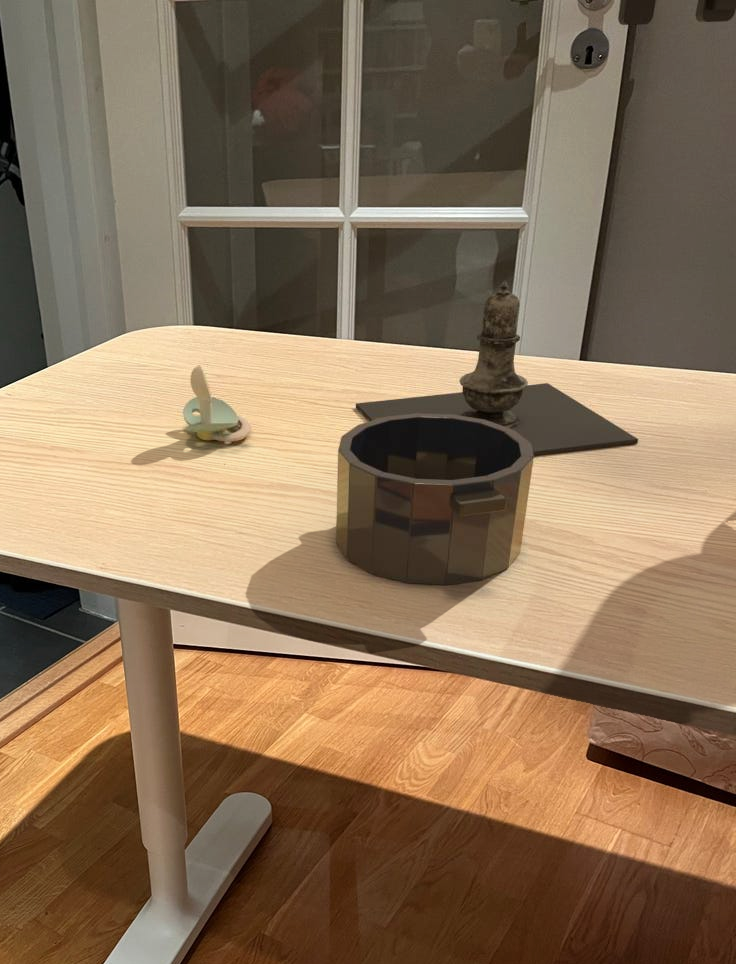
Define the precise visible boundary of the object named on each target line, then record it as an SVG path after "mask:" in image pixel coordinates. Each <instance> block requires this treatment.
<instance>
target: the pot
mask: <svg viewBox="0 0 736 964" xmlns="http://www.w3.org/2000/svg"><path fill="white" fill-rule="evenodd" d="M534 458H535V456H534V455H533V451H532V446H531V443H530V442H529V441H528V440H526V439H525V438H524V437H522V436H521V435H520V434H518V433H517V432H516V431H514V430H513V429H510V428H507V427H504V426H502V425H499V424H496V423H493V422H490V421H487V420H483V419H477V418H471V417H465V416H459V415H451V414H417V413H416V414H407V415H398V416H388V417H383V418H374V420H373V421H369V420H368V421H366V422H363V423H360V424H357V425H355V426H353V428H351V429H349V430H348V431H347V432H346V433H344V434H342V435H341V437H340V441H339V445H338V449H337V480H336V481H337V482H336V484H337V485H336V521H335V522H336V523H335V525H336V527H335V543H336V546H337V547H338V549H339V550H340V552H341V553H342V554H343V556H344V558H345V559H346V560H347V561H348V562H350V563H352V564H354V565H355V566H357V567H359V568H361V569H363V570H364V571H366V572H368V573H370V574H372V575H375V576H379V577H381V578H386V579H389V580H393V581H398V582H402V583H405V584H406V583H407V584H418V585H419V584H420V585H436V586H437V585H438V586H439V585H440V586H449V585H456V584H463V583H468V582H469V583H470V582H476V581H477V582H478V581H482V580H485V579H487V578H490V577H492V576H494V575H497V574H498V573H501V572H503V571H505V570H508V568H509V567H510V566H511V565H512V564H513V563H514V561H515V560H516V559H517V557H518V556H519V555H520V554H521V550H522V542H523V536H524V528H525V523H526V515H527V508H528V502H529V501H528V499H529V494H530V487H531V480H532V474H533V473H532V472H533V465H534Z"/></svg>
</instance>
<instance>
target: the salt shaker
mask: <svg viewBox="0 0 736 964" xmlns="http://www.w3.org/2000/svg"><path fill="white" fill-rule="evenodd" d="M499 287H500V290H498V291H497V292H494V293H492V294H490V295H488V297H487V298H486V299H485V301H484V306H483V307H484V308H483V318H482V326H481V327H482V328H481V332H480V333H479V334H477V335H476V340H478V341H479V347H478V358H477V361H476V366H475V369H474V370H473V371H472V372H469V373H466V374H464V375H462V376H460V378H459V384H460V385H461V387H462V390H461V392H463V395H464V398H465V401H466V402H467V403H468V404H469V406H470V407H471V408H472V409H470V410H468V411H466V412H464V413H463V414H461V415H460V416H465V417H471V418H477V419H483V420H487V421H490V422H493V423H496V424H499V425H502V426H504V427H507V428H513V427H515V426H517V425H518V424H519V418H518V417H517V416H516V415H515V414H513V413H512V412H511V411H509V410H510V409H511V408H512V407H514V406H515V405H516V404H517V403H518V402H519V400H520V398H521V396H522V394H523V389H524V388H526V387H527V385H529V382H528V380H527V378H525V377H524V376H522V375H520V374H517V373H516V370H515V353H516V346H517V345H516V344H517V343H518V342H519V341H520V340H521V336H520V335H519V334H518V333H517V329H518V321H519V314H520V307H521V306H520V305H521V304H520V300H519V298H518V296H516V295H515V294H514V293H512V292H510V291H509V290H508V287H509V285H508V283H507V281H506V280H503V282H502V283H501V284H500V285H499Z"/></svg>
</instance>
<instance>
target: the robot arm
mask: <svg viewBox="0 0 736 964" xmlns="http://www.w3.org/2000/svg"><path fill="white" fill-rule="evenodd" d="M619 2H620V3H619V9H618V17H617V21H618V23H619V24H620V25H621V26H632V25H633V26H637V25H638V26H640V25H648V24H650V23H651V21H652V20H653V18H654V13H655V8H656V2H657V0H620V1H619ZM735 14H736V0H697V4H696V9H695V19H696V20H697V22H699V23H717V22H718V23H719V22H729V21H731V20H732V19H733V17H734V16H735Z"/></svg>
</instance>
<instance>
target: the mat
mask: <svg viewBox="0 0 736 964" xmlns="http://www.w3.org/2000/svg"><path fill="white" fill-rule="evenodd" d="M355 408H356V410H358V411H359V412H360V413H361V415H363V417H365V418H366V419H367V421H368V422H369V421H373V420H374V418H383V417H388V416H398V415H407V414H416V413H417V414H451V415H459V416H460V415H461V414H463V413H464V412H466V411H468V410H470V409H472V408H471V407H470V406H469V404H468V403H467V402H466V401H465V398H464V395H463V391H461V392H450V393H442V394H432V395H431V394H430V395H423V396H422V395H421V396H413V397H405V398H403V397H402V398H394V399H385V400H377V401H376V400H375V401H366V402H357V403H355ZM509 411H511V412H512V413H513V414H515V415H516V416H517V417H518V418H519V424H518V425H517V426H515V427H513V428H510V429H513V430H514V431H516V432H517V433H518V434H520V435H521V436H522V437H524V438H525V439H526V440H528V441H529V442H530V443H531V446H532V451H533V455H534V457H536V456H542V455H551V454H559V453H567V452H569V453H570V452H575V451H577V452H578V451H584V450H594V449H601V448H608V447H617V446H618V447H619V446H625V445H626V446H627V445H634V444H638V443H639V438H638V437H636V436H635V435H633V434H631V433H629V432H628V431H626V430H624V429H623V428H621V427H620V426H618V425H616V424H615V423H613V422H611V421H610V420H609V419H606V418H605V417H603V416H602V415H600V414H599V413H597V412H595V411H593V410H592V409H590V408H589V407H587V406H586V405H584V404H582V403H580V402H579V401H577V400H576V399H574V398H573V397H571V396H570V395H567V393H565V392H563V391H561V390H560V389H558V388H556V387H555V386H553V385H551V384H550V383H549V382H545V383H536V384H528V385H527V387H526V388H524V389H523V394H522V396H521V398H520V400H519V402H518V403H517V404H516V405H515V406H514V407H512V408H511V409H510V410H509Z"/></svg>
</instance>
